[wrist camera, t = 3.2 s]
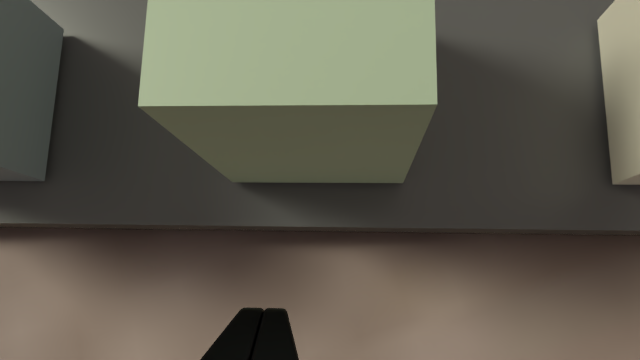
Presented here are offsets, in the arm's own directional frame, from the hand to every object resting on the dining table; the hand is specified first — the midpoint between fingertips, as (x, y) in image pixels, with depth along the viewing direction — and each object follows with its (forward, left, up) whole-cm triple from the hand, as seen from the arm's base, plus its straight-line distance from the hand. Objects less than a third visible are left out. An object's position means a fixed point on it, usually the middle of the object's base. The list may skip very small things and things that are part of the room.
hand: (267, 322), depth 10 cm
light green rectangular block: (+7, -3, -8) cm, 11 cm away
